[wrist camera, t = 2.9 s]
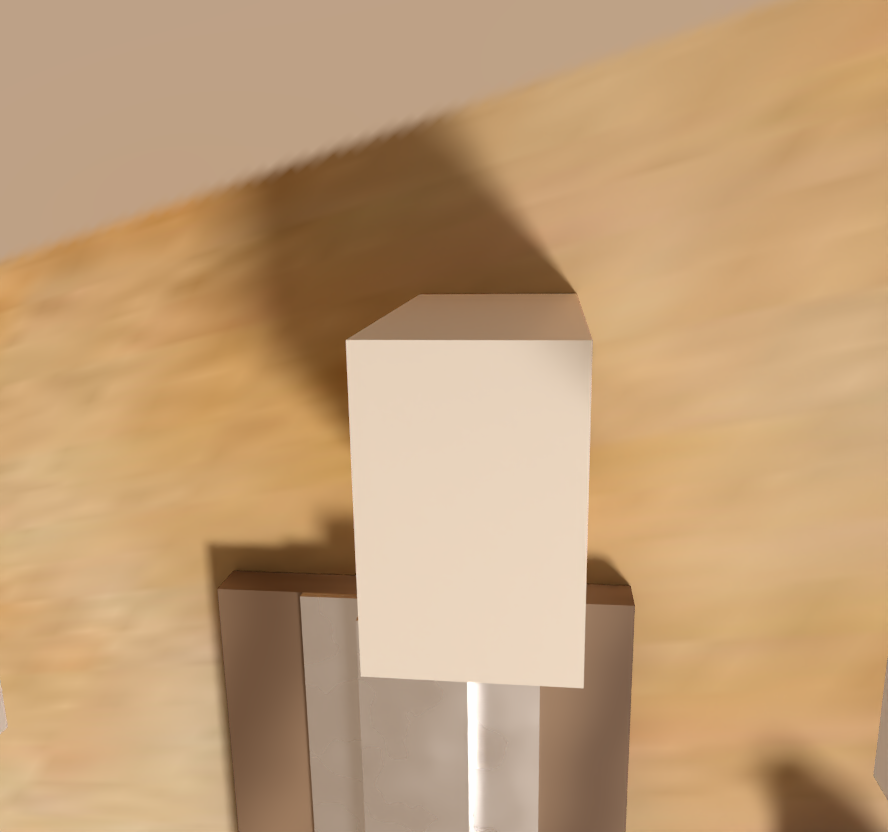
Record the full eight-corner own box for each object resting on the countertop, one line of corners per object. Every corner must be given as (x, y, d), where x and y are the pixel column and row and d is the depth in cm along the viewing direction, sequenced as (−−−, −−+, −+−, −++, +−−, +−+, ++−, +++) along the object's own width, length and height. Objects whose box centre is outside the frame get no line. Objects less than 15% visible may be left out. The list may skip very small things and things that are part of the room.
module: (416, 294, 27) (341, 340, 17) (576, 293, 26) (592, 340, 16) (422, 519, 28) (356, 676, 19) (571, 523, 28) (583, 688, 18)
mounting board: (630, 585, 28) (634, 605, 27) (613, 1011, 32) (616, 1049, 31) (233, 570, 30) (217, 589, 28) (266, 977, 34) (254, 1011, 33)
